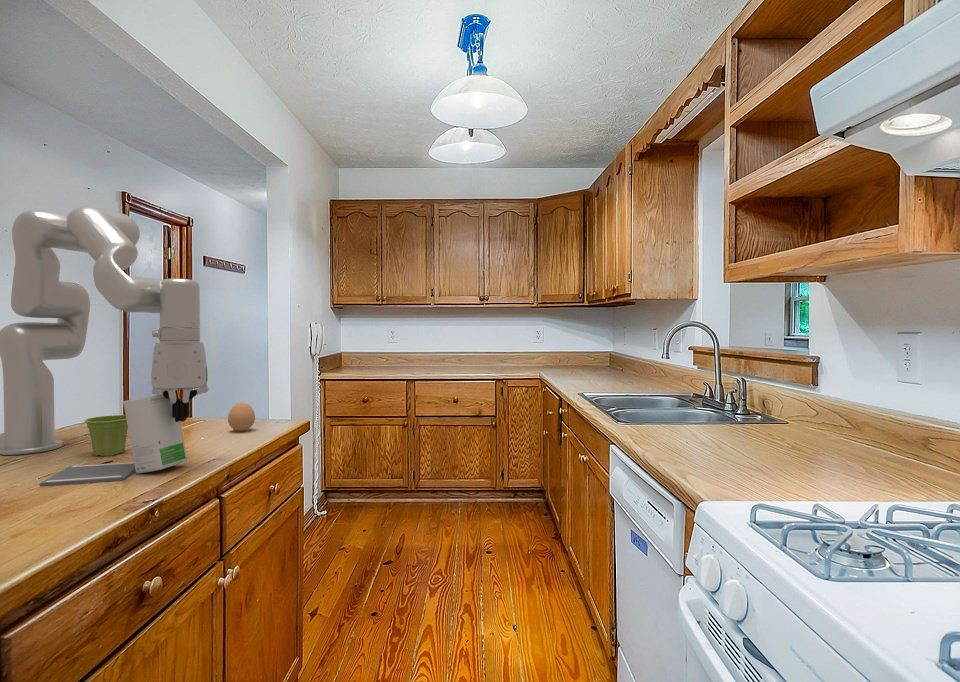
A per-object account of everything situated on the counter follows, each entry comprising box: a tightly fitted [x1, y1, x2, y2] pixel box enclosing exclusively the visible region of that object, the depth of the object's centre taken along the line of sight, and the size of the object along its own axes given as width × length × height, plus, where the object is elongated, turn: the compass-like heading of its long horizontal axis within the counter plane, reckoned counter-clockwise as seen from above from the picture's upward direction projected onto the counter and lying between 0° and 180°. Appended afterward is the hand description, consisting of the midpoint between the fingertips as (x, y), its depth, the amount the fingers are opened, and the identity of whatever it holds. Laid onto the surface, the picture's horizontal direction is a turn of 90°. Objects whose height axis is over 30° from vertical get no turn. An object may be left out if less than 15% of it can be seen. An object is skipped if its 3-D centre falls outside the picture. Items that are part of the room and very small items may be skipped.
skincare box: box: [122, 394, 188, 474], centre depth 113 cm, size 8×7×16 cm
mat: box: [39, 461, 136, 487], centre depth 109 cm, size 14×13×1 cm
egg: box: [227, 402, 256, 432], centre depth 155 cm, size 7×7×8 cm
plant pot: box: [84, 414, 128, 457], centre depth 127 cm, size 9×9×9 cm
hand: (181, 420), depth 114 cm, fingers closed
